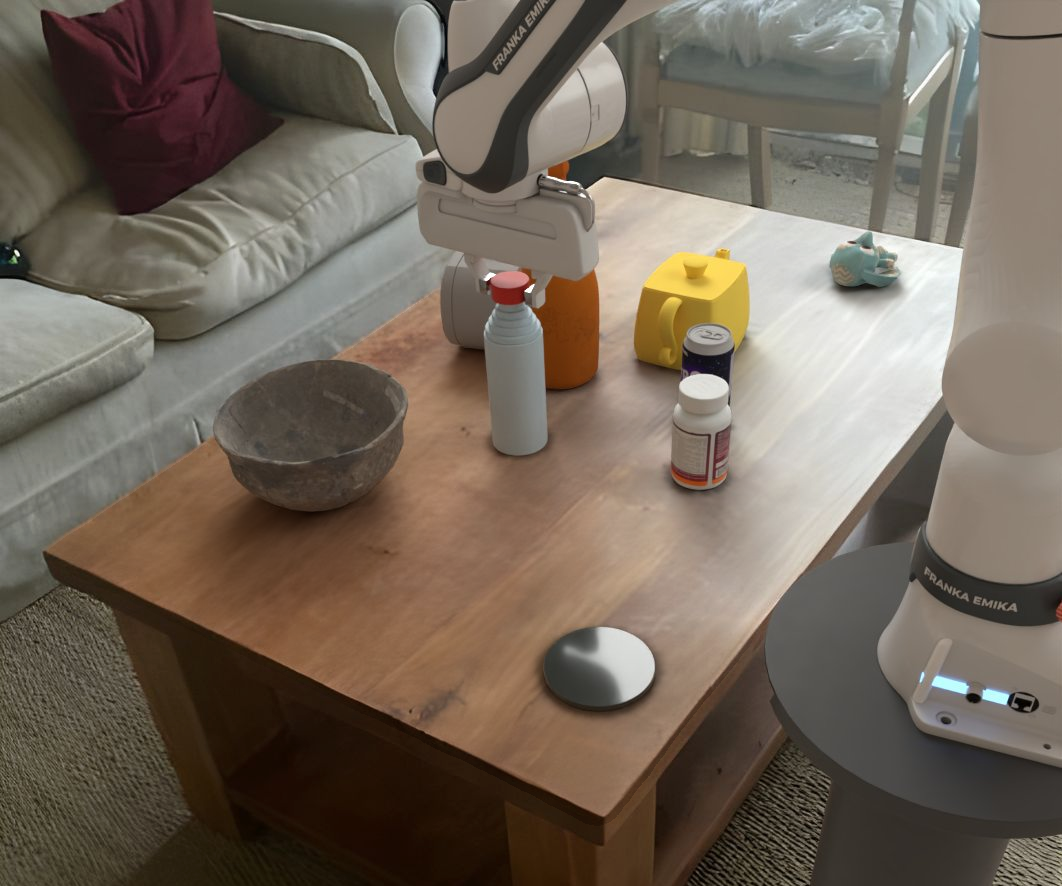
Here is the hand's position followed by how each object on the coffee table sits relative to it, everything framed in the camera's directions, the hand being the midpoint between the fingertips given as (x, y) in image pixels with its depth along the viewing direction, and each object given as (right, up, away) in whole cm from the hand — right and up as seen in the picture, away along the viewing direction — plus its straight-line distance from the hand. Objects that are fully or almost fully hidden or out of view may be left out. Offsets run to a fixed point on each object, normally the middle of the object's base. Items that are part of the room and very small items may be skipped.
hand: (510, 298), depth 116 cm
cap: (0, +1, -1) cm, 2 cm away
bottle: (+1, -14, +12) cm, 18 cm away
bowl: (-21, -19, +7) cm, 29 cm away
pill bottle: (+21, -18, +5) cm, 28 cm away
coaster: (+8, -38, -17) cm, 42 cm away
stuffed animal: (+49, +13, +39) cm, 64 cm away
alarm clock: (-2, +4, +32) cm, 32 cm away
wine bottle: (+6, -4, +23) cm, 24 cm away
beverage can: (+22, -12, +12) cm, 28 cm away
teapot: (+23, +1, +27) cm, 36 cm away
